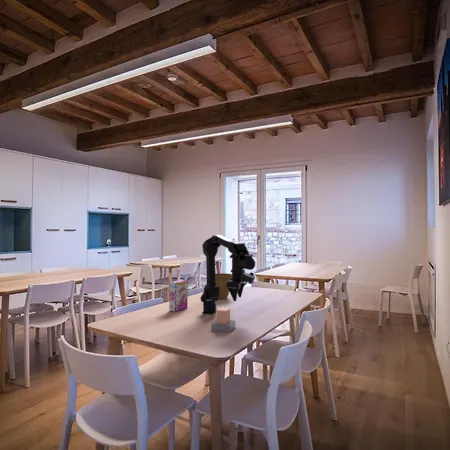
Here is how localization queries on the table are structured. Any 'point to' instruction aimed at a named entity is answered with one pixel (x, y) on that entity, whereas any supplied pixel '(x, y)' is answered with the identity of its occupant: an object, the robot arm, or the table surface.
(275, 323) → the table surface
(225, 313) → the cube
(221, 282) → the plant pot
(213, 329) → the plinth
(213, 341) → the table surface
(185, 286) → the candy bar box
